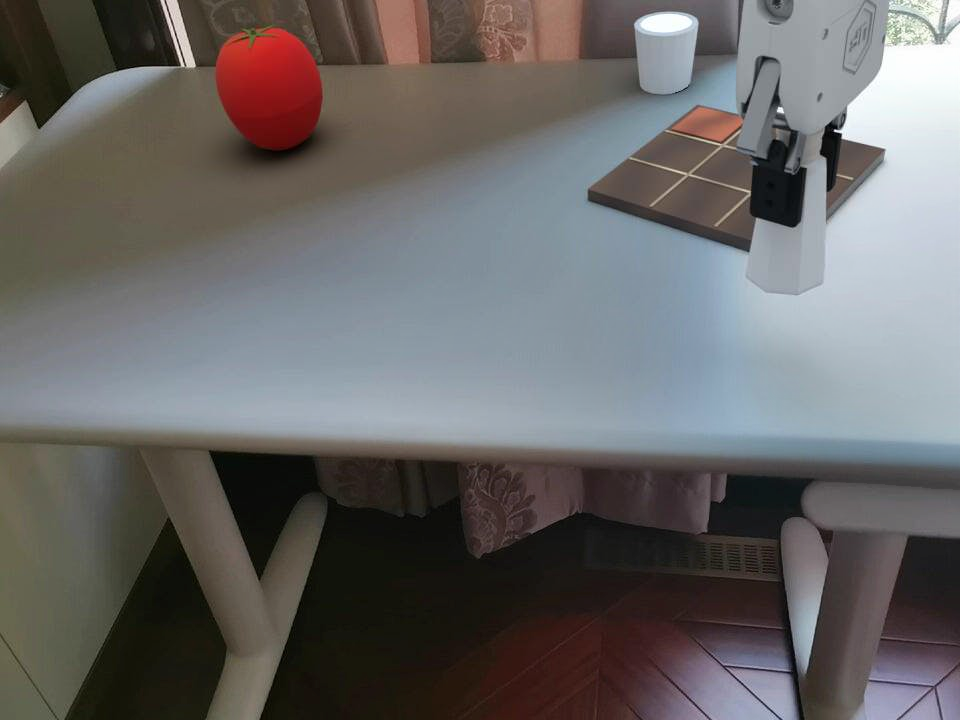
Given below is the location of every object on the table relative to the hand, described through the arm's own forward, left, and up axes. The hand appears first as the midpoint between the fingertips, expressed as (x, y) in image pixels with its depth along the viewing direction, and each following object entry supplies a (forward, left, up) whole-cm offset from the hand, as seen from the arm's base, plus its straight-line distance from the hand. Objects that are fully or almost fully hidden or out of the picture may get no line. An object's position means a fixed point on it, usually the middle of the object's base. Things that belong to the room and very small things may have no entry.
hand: (792, 199), depth 61 cm
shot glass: (+32, -38, -14) cm, 52 cm away
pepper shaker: (0, 0, -6) cm, 6 cm away
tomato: (+61, -6, -14) cm, 63 cm away
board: (+15, -23, -14) cm, 31 cm away
